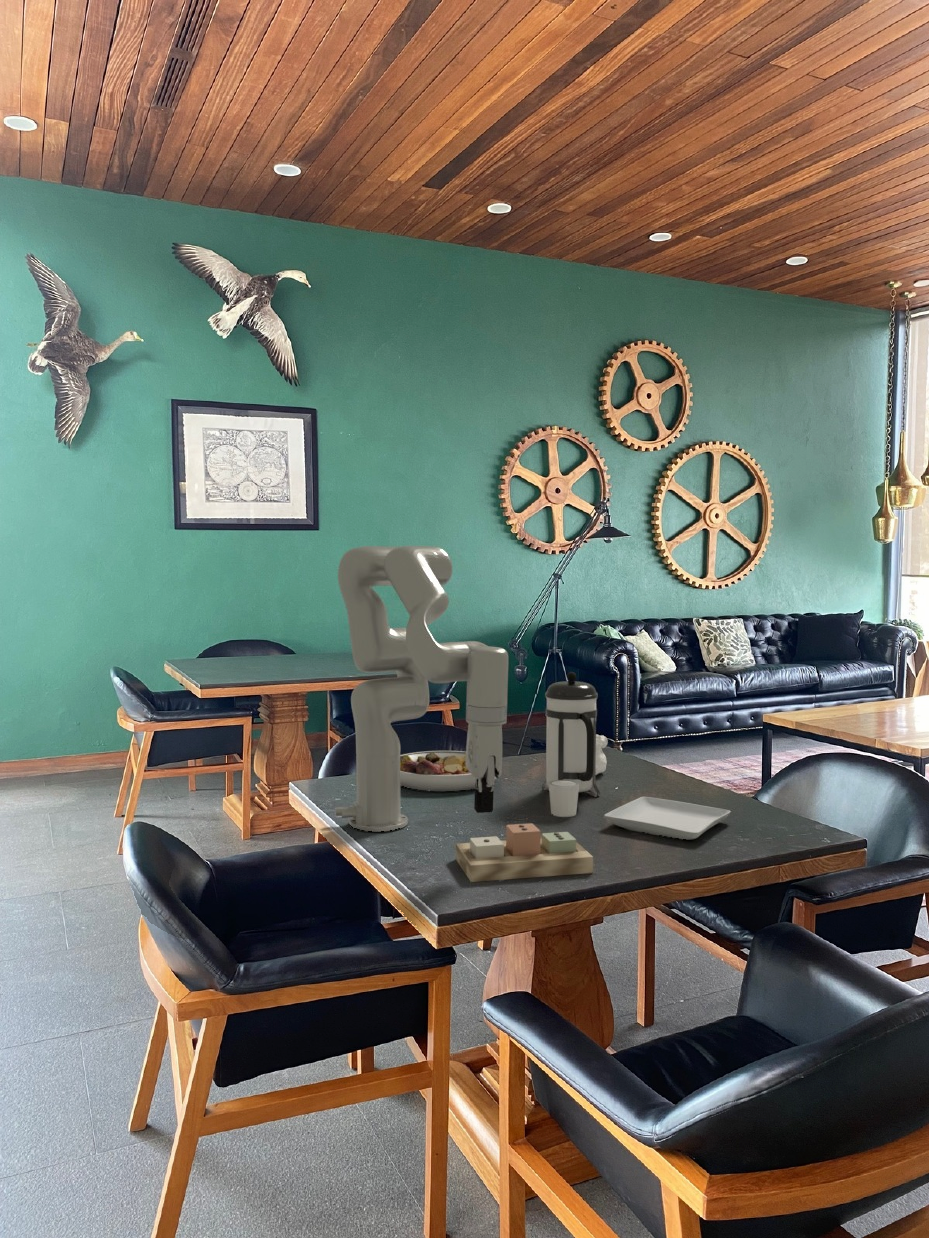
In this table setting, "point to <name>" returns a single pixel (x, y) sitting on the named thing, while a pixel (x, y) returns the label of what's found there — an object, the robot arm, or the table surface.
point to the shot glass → (563, 797)
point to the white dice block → (486, 847)
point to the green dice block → (558, 842)
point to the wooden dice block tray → (523, 864)
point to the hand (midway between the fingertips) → (483, 810)
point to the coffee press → (571, 733)
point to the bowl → (436, 771)
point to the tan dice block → (523, 839)
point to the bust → (600, 754)
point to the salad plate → (666, 817)
